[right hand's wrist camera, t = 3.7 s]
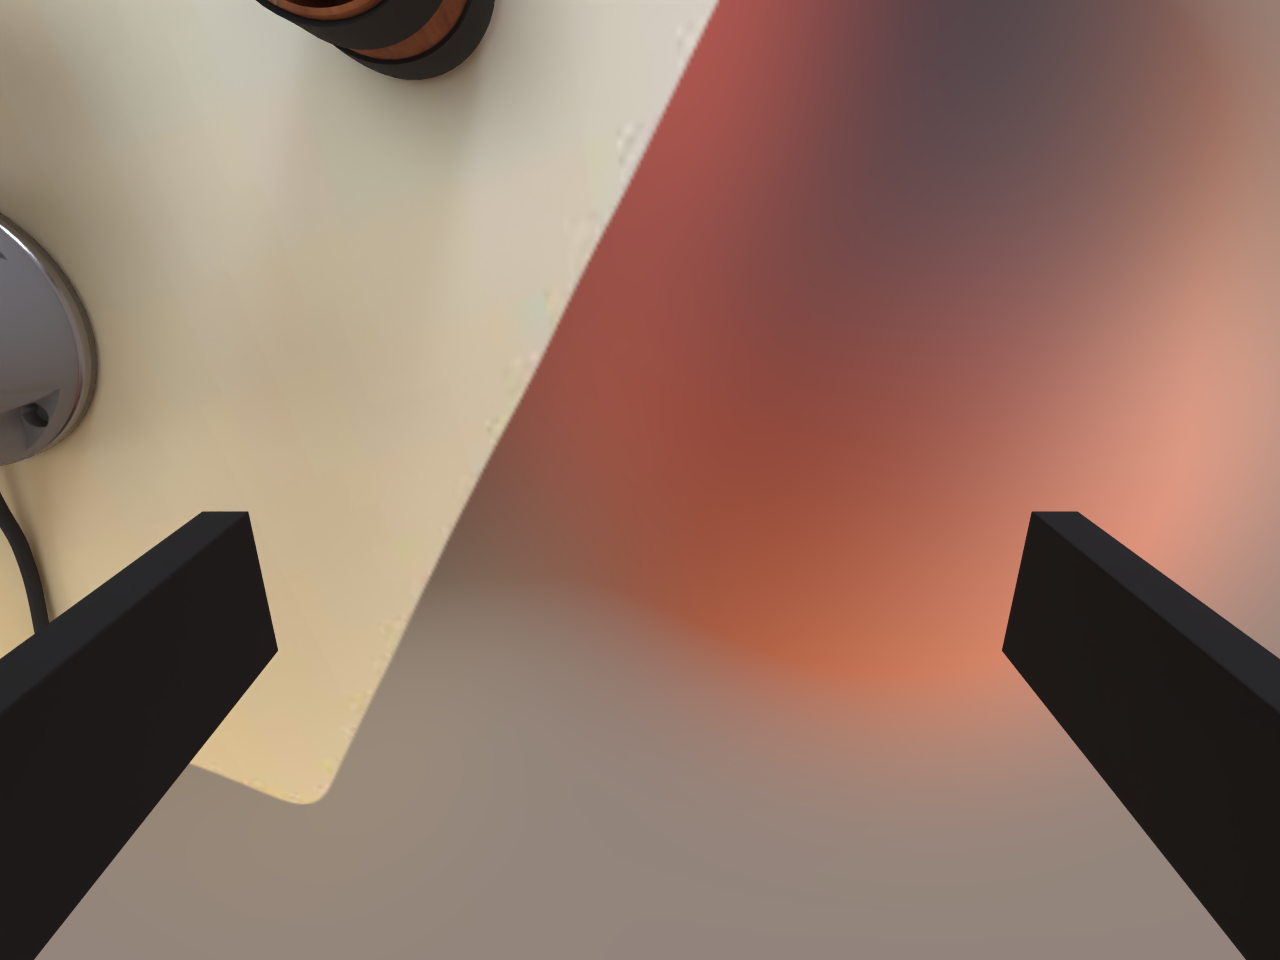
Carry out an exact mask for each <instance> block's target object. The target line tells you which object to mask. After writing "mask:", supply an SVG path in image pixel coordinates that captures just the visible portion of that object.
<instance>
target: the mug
mask: <svg viewBox="0 0 1280 960" xmlns="http://www.w3.org/2000/svg"><path fill="white" fill-rule="evenodd" d="M256 1H257V2H259V3H260V4H261V5H262V6H264V7H266V8H267V9H269V10H270V11H272V12H274V13H275V14H277V15H279V16H281V17H283V18H285V19H287V20H289V21H291V22H292V23H294V24H296V25H298V26H300V27H301V28H303V29H305V30H306V31H308V32H309V33H311V34H313V35H314V36H316V37H318V38H320V39H322V40H324V41H326V42H328V43H331V44H333V45H334V46H335V47H337V48H338V49H339V50H341V51H342V52H344V53H345V54H346V55H348V56H349V57H351V58H353V59H354V60H356V61H358V62H359V63H361V64H363V65H364V66H366V67H368V68H370V69H373V70H375V71H377V72H379V73H382V74H385V75H388V76H392V77H395V78H400V79H407V80H420V79H427V78H432V77H436V76H439V75H442V74H444V73H446V72H448V71H450V70H452V69H454V68H455V67H456V66H458V65H459V64H461V63H462V62H463V61H464V60H465V59H466V58H467V57H468V56H470V54H471V53H472V52H473V51H474V50H475V48H476V47H477V46H478V44H479V43H480V41H481V39H482V38H483V36H484V34H485V32H486V29H487V27H488V25H489V22H490V19H491V16H492V12H493V7H494V2H495V0H256Z"/></svg>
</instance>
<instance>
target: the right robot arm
mask: <svg viewBox="0 0 1280 960" xmlns="http://www.w3.org/2000/svg"><path fill="white" fill-rule="evenodd" d="M96 373H97V357H96V349H95V342H94V338H93V334H92V329H91V326H90V323H89V320H88V317H87V315H86V312H85V310H84V308H83V305H82V303H81V301H80V299H79V297H78V295H77V294H76V292H75V290H74V288H73V287H72V285H71V283H70V282H69V280H68V279H67V277H66V276H65V274H64V273H63V272H62V270H61V269H60V267H59V266H58V265H57V263H56V262H55V261H54V260H53V259H52V258H51V257H50V255H49V254H48V253H47V252H46V251H45V250H44V249H43V248H42V247H41V246H40V245H39V244H38V243H37V242H36V241H35V240H34V239H33V238H32V237H31V236H30V235H28V234H27V233H26V232H25V231H24V230H23V229H21V228H20V227H19V226H18V225H16V224H15V223H13V222H12V221H11V220H9V219H8V218H7V217H5V216H3V215H2V214H0V466H2V465H7V464H11V463H15V462H18V461H21V460H23V459H26V458H28V457H31V456H33V455H35V454H38V453H40V452H42V451H44V450H46V449H48V448H50V447H52V446H54V445H56V444H57V443H59V442H60V441H62V440H63V439H64V438H65V437H67V436H68V435H69V434H70V433H71V432H72V431H73V430H74V429H75V428H76V426H77V425H78V424H79V423H80V421H81V420H82V418H83V417H84V415H85V413H86V411H87V409H88V407H89V405H90V402H91V399H92V396H93V393H94V388H95V383H96ZM0 528H1V529H2V531H3V533H4V534H5V536H6V538H7V539H8V541H9V543H10V545H11V547H12V550H13V552H14V555H15V557H16V560H17V563H18V565H19V568H20V571H21V574H22V578H23V581H24V585H25V589H26V593H27V597H28V602H29V606H30V611H31V617H32V622H33V627H34V632H35V634H34V635H33V636H31V637H30V638H28V639H27V640H26V641H24V642H23V643H22V644H20V645H19V646H17V647H16V648H15V649H13V650H12V651H11V652H9V653H8V654H6V655H5V656H4V657H2V658H1V659H0V960H34V959H35V958H36V956H37V955H38V954H39V953H40V951H41V950H42V949H43V948H44V946H45V945H46V944H47V943H48V941H49V940H50V939H51V937H52V936H53V935H54V934H55V932H56V931H57V930H58V929H59V927H60V926H61V925H62V924H63V922H64V921H65V920H66V918H67V917H68V916H69V915H70V913H71V912H72V911H73V910H74V908H75V907H76V906H77V905H78V903H79V902H80V901H81V899H82V898H83V897H84V896H85V894H86V893H87V892H88V891H89V889H90V888H91V887H92V886H93V884H94V883H95V882H96V880H97V879H98V878H99V877H100V875H101V874H102V873H103V872H104V870H105V869H106V868H107V867H108V865H109V864H110V863H111V862H112V860H113V859H114V858H115V856H116V855H117V854H118V853H119V851H120V850H121V849H122V848H123V846H124V845H125V844H126V842H127V841H128V840H129V839H130V837H131V836H132V835H133V834H134V832H135V831H136V830H137V829H138V827H139V826H140V825H141V824H142V822H143V821H144V820H145V818H146V817H147V816H148V815H149V813H150V812H151V811H152V810H153V808H154V807H155V806H156V805H157V803H158V802H159V801H160V799H161V798H162V797H163V796H164V794H165V793H166V792H167V791H168V789H169V788H170V787H171V786H172V784H173V783H174V782H175V781H176V779H177V778H178V777H179V775H180V774H181V773H182V772H183V770H184V769H185V768H186V767H187V765H188V764H189V763H190V762H191V760H192V759H193V758H194V756H195V755H196V754H197V753H198V751H199V750H200V749H201V748H202V746H203V745H204V744H205V743H206V741H207V740H208V739H209V737H210V736H211V735H212V734H213V732H214V731H215V730H216V729H217V727H218V726H219V725H220V724H221V722H222V721H223V720H224V718H225V717H226V716H227V715H228V713H229V712H230V711H231V710H232V708H233V707H234V706H235V705H236V703H237V702H238V701H239V699H240V698H241V697H242V696H243V694H244V693H245V692H246V691H247V689H248V688H249V687H250V686H251V684H252V683H253V682H254V681H255V679H256V678H257V677H258V675H259V674H260V673H261V672H262V670H263V669H264V668H265V667H266V665H267V664H268V663H269V662H270V660H271V659H272V658H273V656H274V655H275V654H276V653H277V651H278V648H277V643H276V639H275V634H274V629H273V625H272V620H271V615H270V611H269V606H268V601H267V597H266V592H265V588H264V583H263V578H262V574H261V569H260V564H259V560H258V555H257V550H256V546H255V541H254V536H253V532H252V527H251V522H250V518H249V513H248V512H201V513H200V514H198V515H197V516H196V517H194V518H193V519H192V520H190V521H189V522H188V523H186V524H185V525H183V526H182V527H181V528H179V529H178V530H177V531H175V532H174V533H172V534H171V535H170V536H168V537H167V538H166V539H164V540H163V541H161V542H160V543H159V544H157V545H156V546H155V547H153V548H152V549H150V550H149V551H148V552H146V553H145V554H144V555H142V556H141V557H140V558H138V559H137V560H135V561H134V562H133V563H131V564H130V565H129V566H127V567H126V568H124V569H123V570H122V571H120V572H119V573H118V574H116V575H115V576H113V577H112V578H111V579H109V580H108V581H107V582H105V583H104V584H102V585H101V586H100V587H98V588H97V589H96V590H94V591H93V592H92V593H90V594H89V595H87V596H86V597H85V598H83V599H82V600H81V601H79V602H78V603H76V604H75V605H74V606H72V607H71V608H70V609H68V610H67V611H65V612H64V613H63V614H61V615H60V616H59V617H57V618H56V619H54V620H53V621H52V622H50V623H49V620H48V615H47V609H46V604H45V599H44V594H43V589H42V585H41V581H40V577H39V574H38V570H37V567H36V564H35V561H34V558H33V555H32V552H31V549H30V547H29V544H28V542H27V540H26V537H25V535H24V533H23V532H22V530H21V528H20V526H19V525H18V523H17V521H16V520H15V518H14V516H13V515H12V513H11V511H10V510H9V508H8V506H7V504H6V502H5V501H4V499H3V497H2V495H1V493H0ZM1002 651H1003V653H1004V654H1005V655H1006V656H1007V658H1008V659H1009V660H1010V662H1011V663H1012V664H1013V665H1014V667H1015V668H1016V669H1017V670H1018V672H1019V673H1020V674H1021V675H1022V677H1023V678H1024V679H1025V681H1026V682H1027V683H1028V684H1029V686H1030V687H1031V688H1032V689H1033V691H1034V692H1035V693H1036V694H1037V696H1038V697H1039V698H1040V699H1041V701H1042V702H1043V703H1044V705H1045V706H1046V707H1047V708H1048V710H1049V711H1050V712H1051V713H1052V715H1053V716H1054V717H1055V718H1056V720H1057V721H1058V722H1059V724H1060V725H1061V726H1062V727H1063V729H1064V730H1065V731H1066V732H1067V734H1068V735H1069V736H1070V737H1071V739H1072V740H1073V741H1074V742H1075V744H1076V745H1077V746H1078V748H1079V749H1080V750H1081V751H1082V753H1083V754H1084V755H1085V756H1086V758H1087V759H1088V760H1089V762H1090V763H1091V764H1092V765H1093V767H1094V768H1095V769H1096V770H1097V772H1098V773H1099V774H1100V775H1101V777H1102V778H1103V779H1104V780H1105V782H1106V783H1107V784H1108V786H1109V787H1110V788H1111V789H1112V791H1113V792H1114V793H1115V794H1116V796H1117V797H1118V798H1119V799H1120V801H1121V802H1122V803H1123V805H1124V806H1125V807H1126V808H1127V810H1128V811H1129V812H1130V813H1131V815H1132V816H1133V817H1134V818H1135V820H1136V821H1137V822H1138V824H1139V825H1140V826H1141V827H1142V829H1143V830H1144V831H1145V832H1146V834H1147V835H1148V836H1149V837H1150V839H1151V840H1152V841H1153V843H1154V844H1155V845H1156V846H1157V848H1158V849H1159V850H1160V851H1161V853H1162V854H1163V855H1164V856H1165V858H1166V859H1167V860H1168V862H1169V863H1170V864H1171V865H1172V867H1173V868H1174V869H1175V870H1176V872H1177V873H1178V874H1179V875H1180V877H1181V878H1182V879H1183V881H1184V882H1185V883H1186V884H1187V885H1188V887H1189V888H1190V889H1191V891H1192V892H1193V893H1194V894H1195V896H1196V897H1197V898H1198V899H1199V901H1200V902H1201V903H1202V905H1203V906H1204V907H1205V908H1206V910H1207V911H1208V912H1209V913H1210V915H1211V916H1212V917H1213V918H1214V920H1215V921H1216V922H1217V924H1218V925H1219V926H1220V927H1221V929H1222V930H1223V931H1224V932H1225V934H1226V935H1227V936H1228V937H1229V939H1230V940H1231V941H1232V943H1233V944H1234V945H1235V946H1236V948H1237V949H1238V950H1239V951H1240V953H1241V954H1242V955H1243V956H1244V958H1245V959H1246V960H1280V659H1279V658H1278V657H1276V656H1275V655H1274V654H1272V653H1271V652H1269V651H1268V650H1267V649H1265V648H1264V647H1262V646H1261V645H1260V644H1258V643H1257V642H1256V641H1254V640H1253V639H1252V638H1250V637H1249V636H1247V635H1246V634H1245V633H1243V632H1242V631H1241V630H1239V629H1238V628H1236V627H1235V626H1234V625H1232V624H1231V623H1230V622H1228V621H1227V620H1225V619H1224V618H1223V617H1221V616H1220V615H1219V614H1217V613H1216V612H1215V611H1213V610H1212V609H1210V608H1209V607H1208V606H1206V605H1205V604H1204V603H1202V602H1201V601H1199V600H1198V599H1197V598H1195V597H1194V596H1193V595H1191V594H1190V593H1188V592H1187V591H1186V590H1184V589H1183V588H1182V587H1180V586H1179V585H1178V584H1176V583H1175V582H1173V581H1172V580H1171V579H1169V578H1168V577H1167V576H1165V575H1164V574H1162V573H1161V572H1160V571H1158V570H1157V569H1156V568H1154V567H1153V566H1151V565H1150V564H1149V563H1147V562H1146V561H1145V560H1143V559H1142V558H1140V557H1139V556H1138V555H1136V554H1135V553H1134V552H1132V551H1131V550H1130V549H1128V548H1127V547H1125V546H1124V545H1123V544H1121V543H1120V542H1119V541H1117V540H1116V539H1114V538H1113V537H1112V536H1110V535H1109V534H1108V533H1106V532H1105V531H1103V530H1102V529H1101V528H1099V527H1098V526H1097V525H1095V524H1094V523H1092V522H1091V521H1090V520H1088V519H1087V518H1086V517H1084V516H1083V515H1082V514H1080V513H1079V512H1032V513H1031V518H1030V522H1029V527H1028V532H1027V536H1026V541H1025V546H1024V550H1023V555H1022V560H1021V564H1020V569H1019V574H1018V578H1017V583H1016V588H1015V592H1014V597H1013V601H1012V606H1011V611H1010V615H1009V620H1008V625H1007V629H1006V634H1005V639H1004V643H1003V648H1002Z"/></svg>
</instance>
